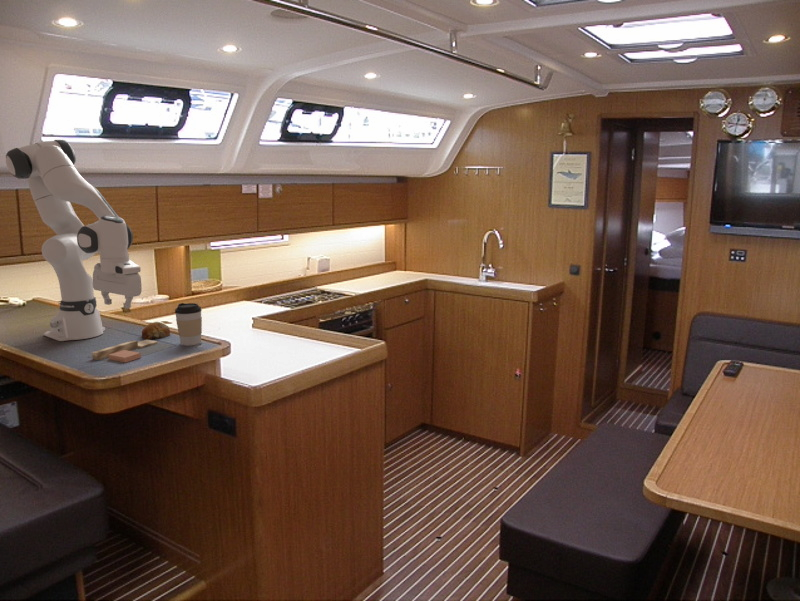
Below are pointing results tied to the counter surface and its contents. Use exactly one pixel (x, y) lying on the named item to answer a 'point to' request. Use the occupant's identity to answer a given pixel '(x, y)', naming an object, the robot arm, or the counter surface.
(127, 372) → the counter surface
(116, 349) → the spatula
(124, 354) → the tile
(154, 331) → the bread roll
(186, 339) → the coffee cup
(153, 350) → the mat
